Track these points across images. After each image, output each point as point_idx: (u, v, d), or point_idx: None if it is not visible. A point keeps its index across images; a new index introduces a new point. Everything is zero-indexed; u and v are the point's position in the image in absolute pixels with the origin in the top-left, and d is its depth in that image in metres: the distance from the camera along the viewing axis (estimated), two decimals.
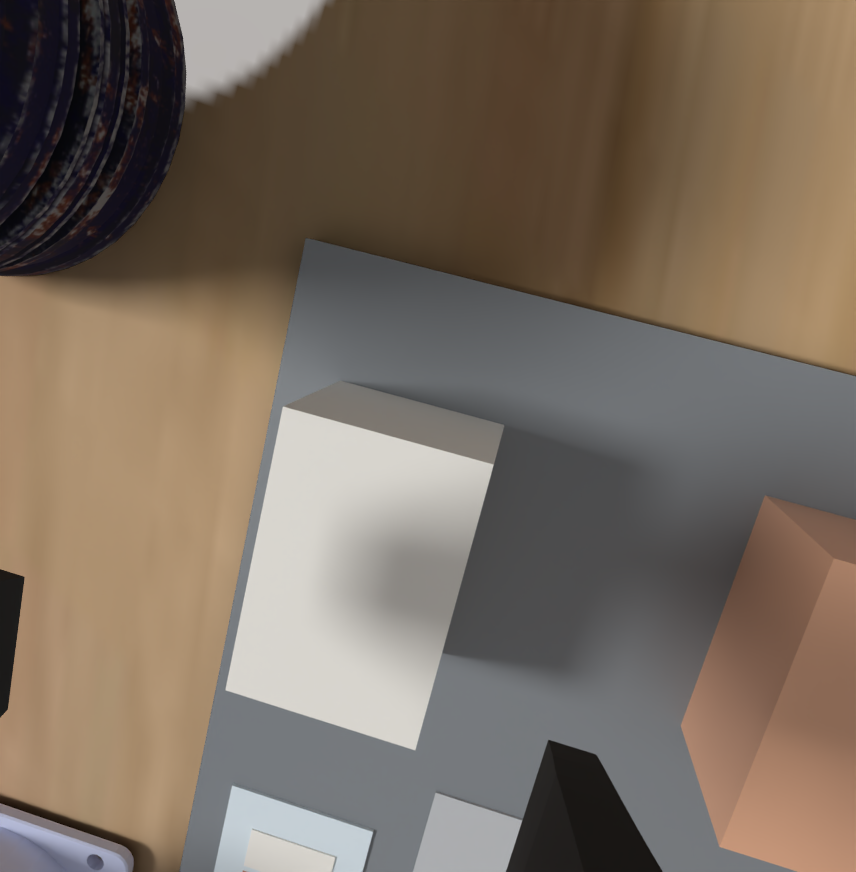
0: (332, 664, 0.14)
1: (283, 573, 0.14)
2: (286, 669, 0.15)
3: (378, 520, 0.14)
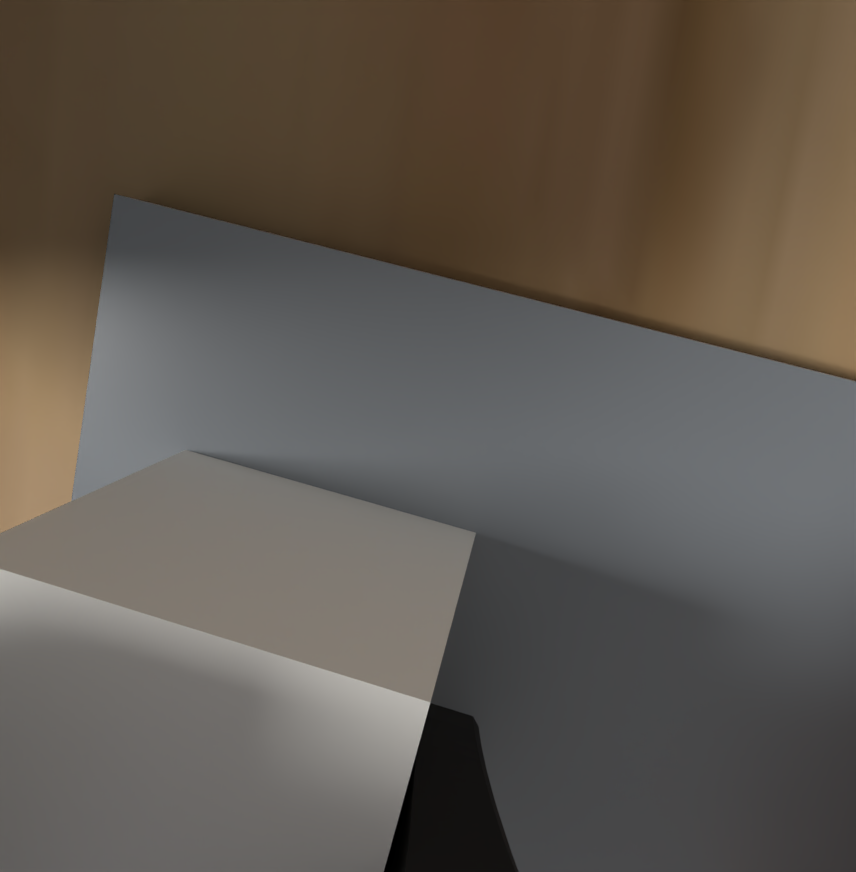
0: None
1: None
2: None
3: (178, 806, 0.06)
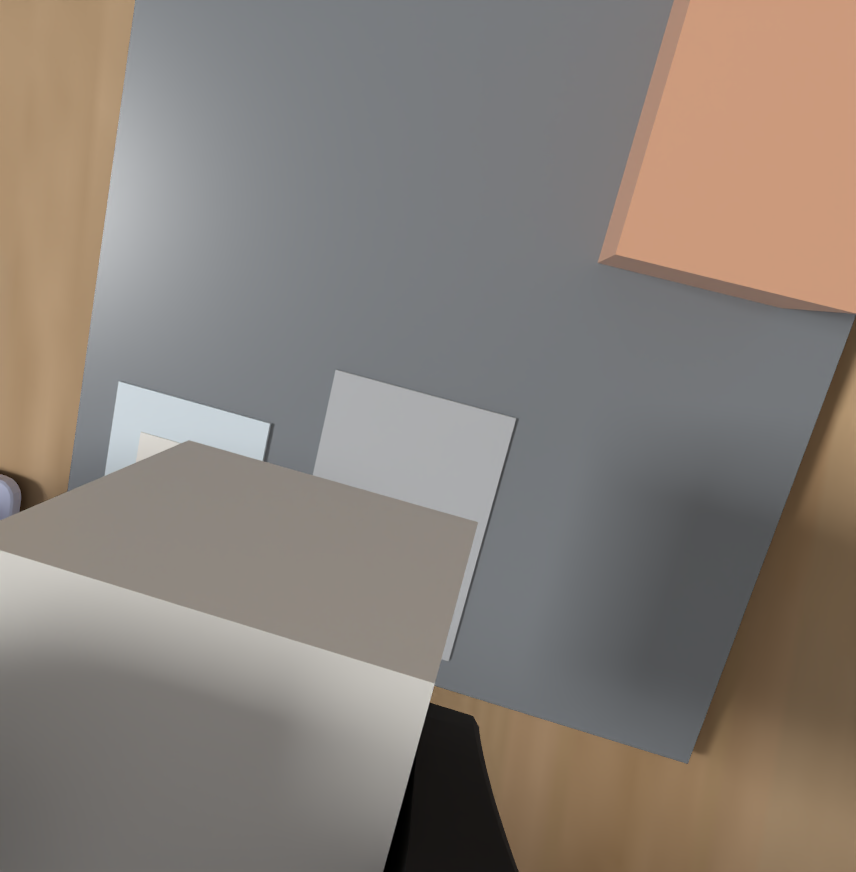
0: None
1: None
2: None
3: (182, 789, 0.06)
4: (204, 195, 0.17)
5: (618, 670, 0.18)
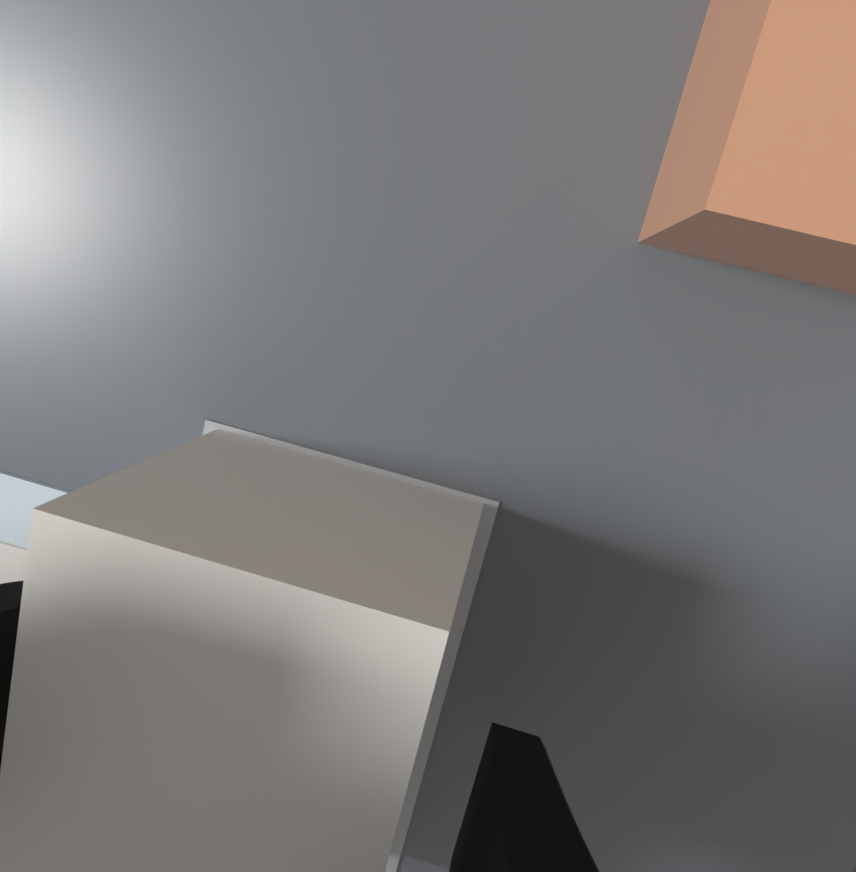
0: None
1: (56, 816, 0.07)
2: None
3: (229, 729, 0.07)
4: None
5: None
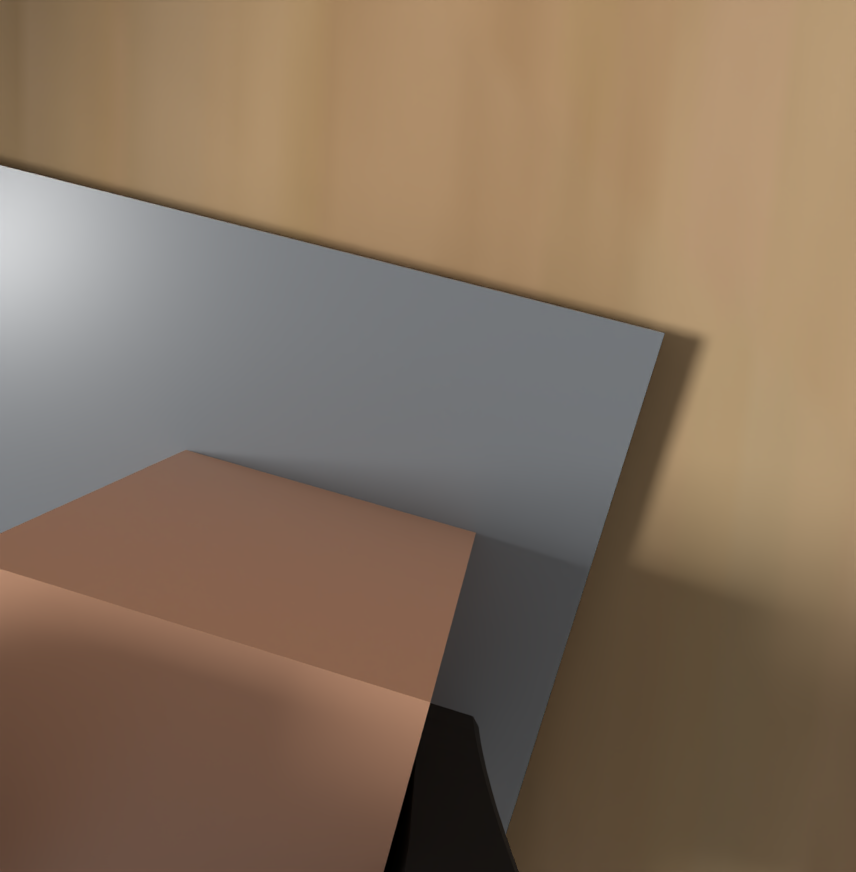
0: None
1: None
2: None
3: None
4: None
5: None
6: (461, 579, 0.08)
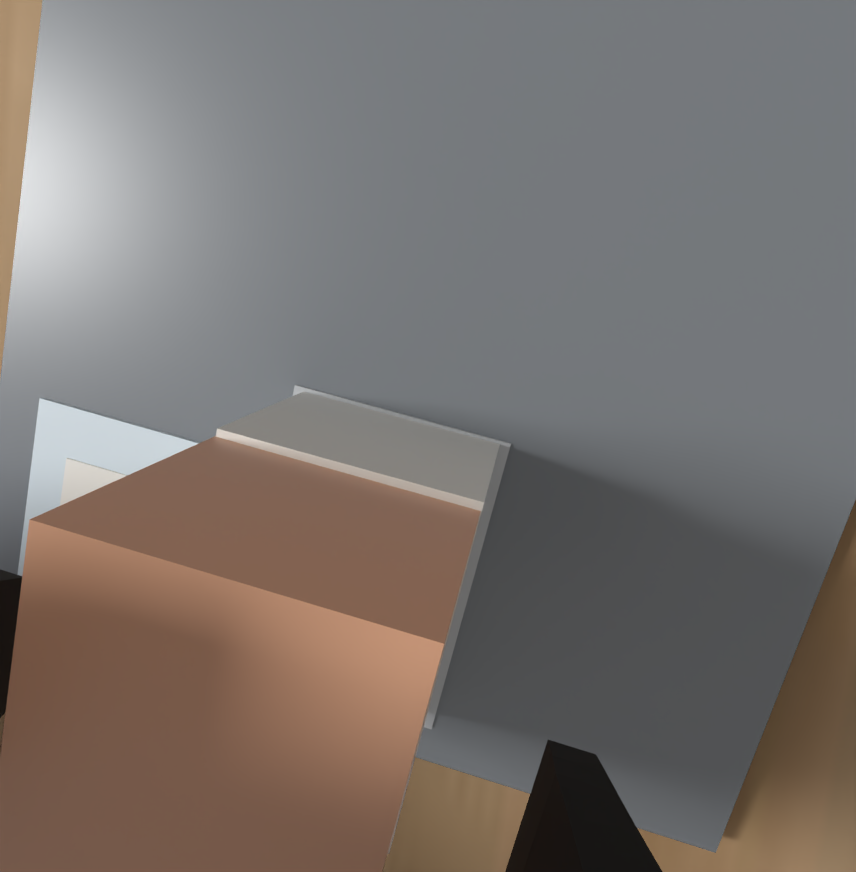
0: None
1: None
2: None
3: None
4: (136, 176, 0.14)
5: (633, 742, 0.15)
6: (468, 548, 0.09)
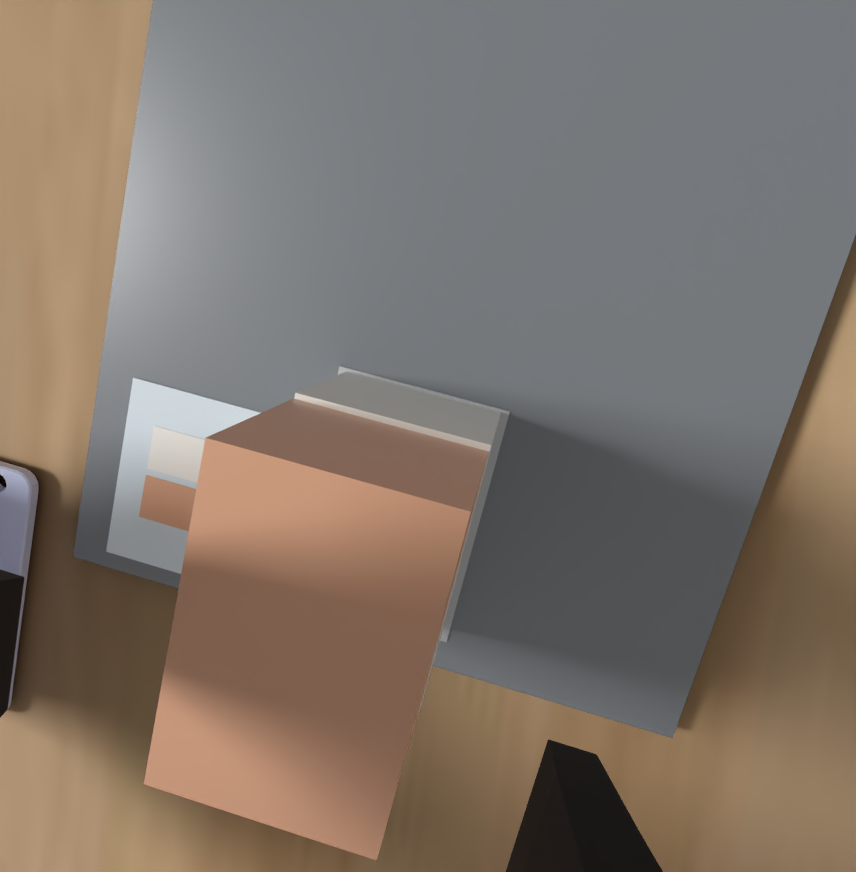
0: None
1: None
2: None
3: None
4: (215, 201, 0.18)
5: (607, 649, 0.19)
6: (481, 470, 0.13)
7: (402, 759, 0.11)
